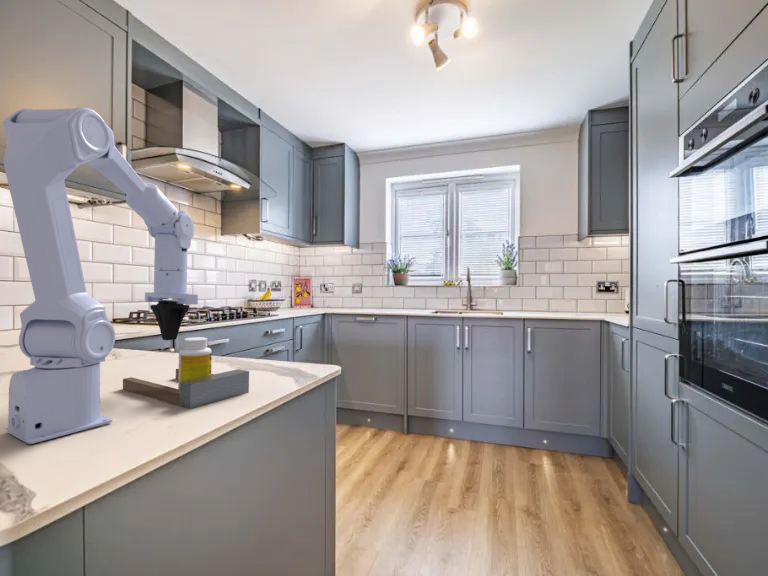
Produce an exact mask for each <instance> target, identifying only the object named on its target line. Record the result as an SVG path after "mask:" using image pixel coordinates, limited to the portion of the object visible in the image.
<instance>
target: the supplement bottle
mask: <svg viewBox="0 0 768 576" xmlns="http://www.w3.org/2000/svg"><path fill="white" fill-rule="evenodd" d="M208 343H209V342H208V337H202V336H201V337H200V336H198V337H197V336H196V337H195V336H194V337H186V338H184V339H183V348H182V349H180V350H179V353H178V369H179V373H178V374H179V376H178V379H177V380H178V387H177V389H179V390H180V382H181V381H186V380H191V379H195V378H200V377H204V376H209V375H211V374H212V359H213V358H212V357H213V356H212V354H213V353H212V352H213V351H212V349H211V347H208Z"/></svg>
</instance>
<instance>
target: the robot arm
mask: <svg viewBox="0 0 768 576" xmlns="http://www.w3.org/2000/svg"><path fill="white" fill-rule="evenodd" d="M2 124H3V129H4V134H5V137H6V142H7V143H6V146H5V151H4V156H3V168H4V171H5V175H6V180H7V183H8V188H9V193H10V198H11V201H12V207H13V210H14V214H15V217H16V218H15V219H16V222H17V228H18V231H19V235H20V240H21V243H22V250H23V252H24V256H25V260H26V261H25V262H26V265H27V271H28V273H29V278H30V282H31V288H32V291H33V295H34V301H33V302H32V303H31V304H29V305H28V306H27V307H26V308H25V309H23V310H22V311H21V312H20V314H19V317H20V324H21V327H20V333H19V336H18V345H19V349H20V351H21V352H22V353H23V354H24V355H25V357H28V358H29V359H30V361H29V362H30V363H29V365H30V366H33V367H32V368H29V369H25V370H18V371H15V372H14V373H13V374H12V375H11V376H10V380H9V386H8V413H7V415H8V420H7V421H8V422H7V423H8V424H7V426H8V427H7V428H6V429H5V431H6V433H8V434H10V435H11V436H12V437H15V438H17V439H18V440H21V441H23V442H25V444H27V445H31V444H33V445H34V444H36V443H40V442H43V441H48V440H51V439H55V438H58V437H63V436H66V435H67V436H68V435H69V434H74V433H77V432H81V431H84V430H89V429H93V428H96V427H100V426H104V425H107V424H111V423H112V422H113V418H111V417H108V416H107V415H106V416H105V415H102V414H100V410H101V409H100V405H101V403H100V402H101V363H103V362H106V358H107V357H108V355H110V353H111V352H112V351H113V348H114V345H115V343H116V331H115V328H114V325H113V324H112V322H111V321H110V319H109V318H108V316H107V315H108V314H107V311H106V307H105V306H104V305H103V304H102V303H101V302H99V301H98V300H96V298H93V296H91V295H90V294H88V292H87V289H86V283H85V278H84V274H83V273H84V272H83V268H82V264H81V259H80V253H79V249H78V243H77V238H76V233H75V228H74V223H73V218H72V213H71V209H70V204H69V202H70V201H69V198H68V192H67V188H66V183H65V182H66V181H65V180H66V178H67V177H68V176H69V175H71V174H72V173H73V172H74V171H75V170H76V169H77V168H78V167H80V166H83V165H85V164H86V165H89V166H91V167H93V169H95V170H96V171H98V173H100V174H101V175H102V176H104V178H106V179H107V180H109V182H111V184H113V185H114V186H116V187H117V188H118V189H120V191H122V192H123V193H124V194H125V202H126V204H127V206H128V207H130V209H131V210H133V211H134V212H135V213H136V214H137V215H138V216H139V217H140V218H141V219H142V220H143V221H144V224H145V225H146V227H147V231H148V233H149V236H150V237H152V238H154V259H153V260H154V262H153V263H154V267H153V269H154V271H153V292H151V291H148V292H146V291H145V292H144V302H146V303H152V302H153V303H157V304H150V306H149V308H150V310H151V311H152V313H153V315H154V316H155V319H156V320H157V324H158V326H159V331H160V335H161V339H162V340H163V341H173V340H174V341H175V340H177V338H178V335H179V331H180V328H181V325H182V323H183V320H184V318H185V316H186V314H187V312H189V310H190V306H191V305H198V304H199V302H198V299H199V298H198V297H199V295H198V294H197V293H189V292H187V291H188V288H187V287H188V250H189V249H190V248H191V247H192V246H191V245H192V239H193V236H194V235H195V230H196V229H195V226H194V220H193V218H192V216H191V215H190V214H189V213H187V212H186V211H184V210H179V209H178V208H177V207H176V206H175V205H174V204H173V203H172V202H171V201H170V199H168V198H167V196H166V195H165V194H164V193H163V192H162V191H161V190H160V188H159V186H157V184H154V183H152V182H144V181H143V180H142V178H141V177H140V176H139V175H138V173H137V172H136V170H134V168H133V167H132V166H131V164H130V163H129V162H128V161H127V159H126V158H125V157H124V156H123V155H122V153H121V152H120V151H119V149H118V147H116V146H115V136H114V135H115V134H114V131H113V130H112V129H111V128H110V127H109V126H108V125H107V124H106V122H105V120H104V119H103V118H102V116H101V115H100V114H99V113H98V112H96V111H95V110H93V109H92V108H88V107H86V106H81V107H80V106H79V107H74V108H43V109H41V108H40V109H39V108H38V109H37V108H36V109H34V108H33V109H32V108H21V109H17V110H16V111H14V112H13V113H11V114H10V115H9V116H8V117H6V118H4V119H3V120H2Z"/></svg>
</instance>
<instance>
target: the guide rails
mask: <svg viewBox="0 0 768 576" xmlns="http://www.w3.org/2000/svg"><path fill="white" fill-rule="evenodd" d="M178 373H179V368H176V369H175V379H177V380H178V376H179V374H178ZM214 374H215V373H214ZM214 374H213V373H211V375H214ZM122 390H125V391H128V392H131V393H135V394H139V395H141V396H145V397H148V398H151V399H156V400H158V401H162V402H166V403H168V404H169V403H170V404H173V405H176V406H179V397H180V390H179V389H178V388H175V387H171V386H168V385H162V384H159V383H155V382H151V381H148V380H143V379H139V378H136V377H133V376H130V377H124V378H122Z"/></svg>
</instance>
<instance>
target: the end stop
mask: <svg viewBox="0 0 768 576" xmlns="http://www.w3.org/2000/svg"><path fill="white" fill-rule="evenodd" d="M249 392H250V371H249V370H246V369H239V368H238V369H237V368H236V369H233V370H228V371H223V372H218V373H214V375H209V376H204V377H200V378H195V379H191V380H186V381H181V382H180V397H179V405H178V406H179V407H183V408H186V409H194V408H196V407H197V408H198V407H201V406H204V405H208V404H211V403H215V402H219V401H222V400H226V399H229V398H232V397H237V396H239V395H242V394H246V393H249Z"/></svg>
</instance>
